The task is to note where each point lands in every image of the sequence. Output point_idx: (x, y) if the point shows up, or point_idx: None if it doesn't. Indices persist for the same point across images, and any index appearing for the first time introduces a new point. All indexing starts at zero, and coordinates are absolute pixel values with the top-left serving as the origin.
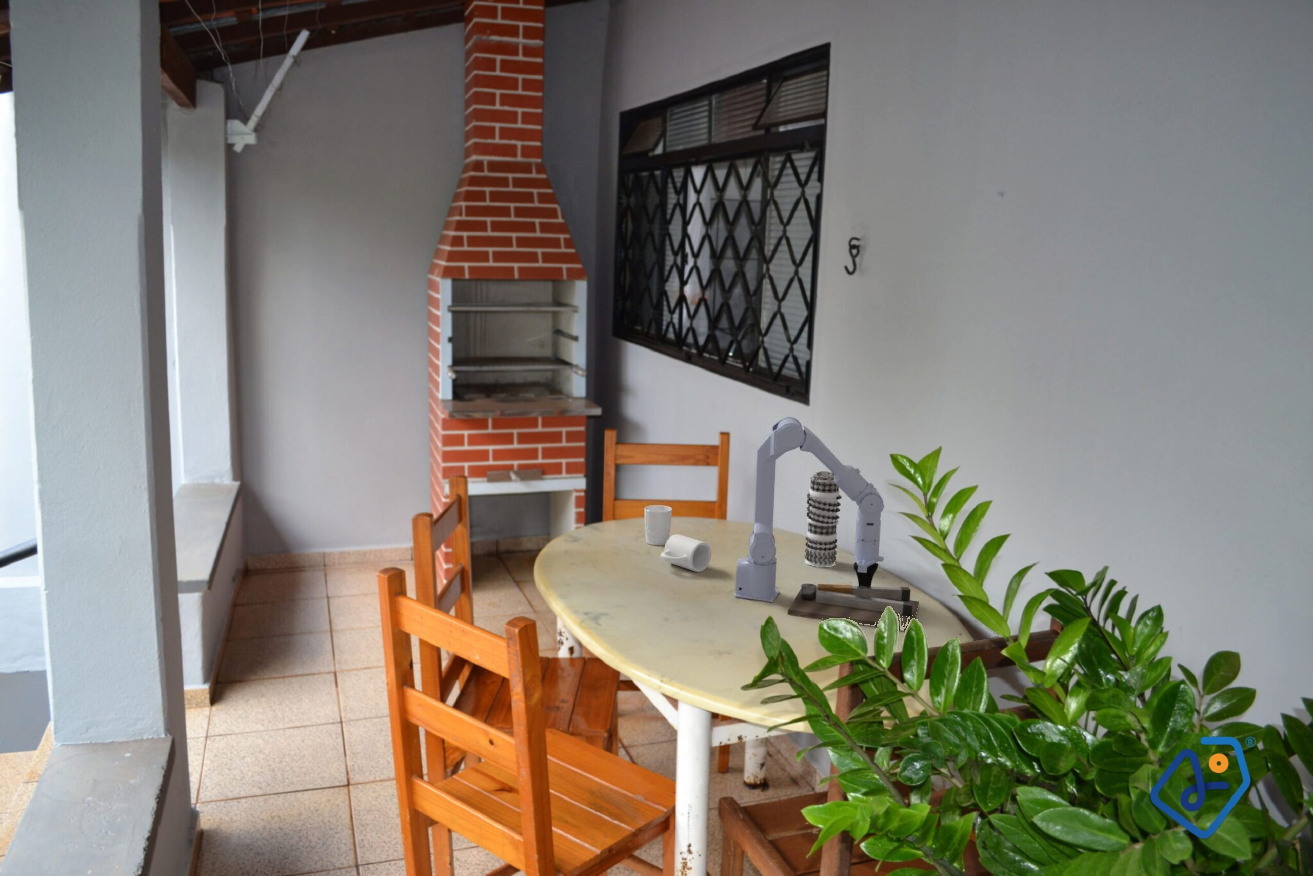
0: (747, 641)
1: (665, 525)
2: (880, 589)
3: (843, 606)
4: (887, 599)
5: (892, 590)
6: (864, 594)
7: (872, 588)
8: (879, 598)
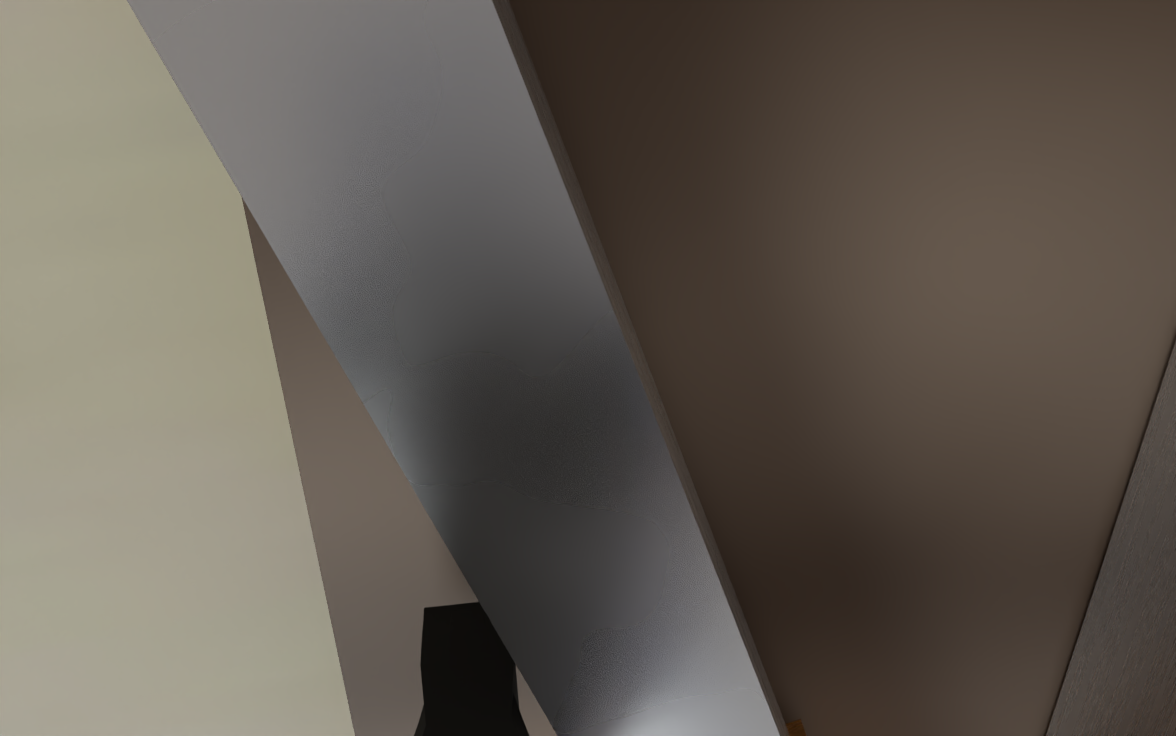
0: None
1: None
2: (675, 477)
3: None
4: None
5: (534, 124)
6: (753, 651)
7: (708, 654)
8: (634, 333)
